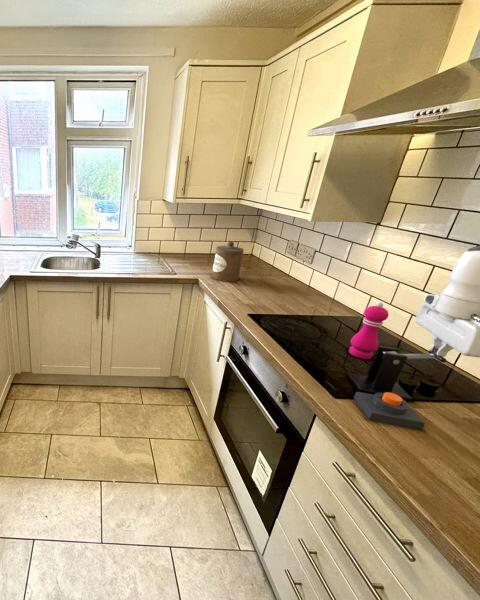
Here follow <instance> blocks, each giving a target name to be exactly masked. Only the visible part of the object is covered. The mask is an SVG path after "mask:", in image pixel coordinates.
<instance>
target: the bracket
mask: <svg viewBox="0 0 480 600" xmlns="http://www.w3.org/2000/svg"><path fill="white" fill-rule="evenodd" d="M375 351H376V352H375V354H374V356H373V359H372V361H371V363H370V365H369V368H368V370H367V373H366V374H359V373H352V372H346V377H347V379H348V380H349V381H350V383H351V384H352V385H353V387H354V388H355V389H356V390H357V391H356V392H361V393H367V394H373V395H375V394H376V393H385V392H390V393H393V394H396V395H398V396H400V397H401V398H402V400H405V401H406V402H407V403H411V401H412V400H413V398H412V397H411V396H410V395H409V394H408V393H407V391H405V389H404V388H402V386H401V385H400V384H399V383H398V382H397V381H398V378H399V376H400V374H401V372H402V370H403V368H404V366H405V364H406V361H407V360H408V359H407V356H406V355H399V354H400V353H399V351H400V349H399V348H398V347H391V346H384V345H378V348H377V350H375ZM383 351H395V352H397V353H398V354H392V353H386V354H385V357H384V359H382V352H383Z"/></svg>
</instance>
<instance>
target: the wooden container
mask: <svg viewBox="0 0 480 600" xmlns="http://www.w3.org/2000/svg"><path fill="white" fill-rule="evenodd" d="M234 245H235V242H233V241H228V242H227V245H219V246H216V249H215V255H214V261H213V265H212V272H211V277H212V278H213V279H215V280H217V281H220V282H221V281H222V282H236V281H238V280H239V277H240V272H241V267H242V262H243V256H244V248H242V247H239V246H234Z"/></svg>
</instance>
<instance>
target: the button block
mask: <svg viewBox="0 0 480 600" xmlns="http://www.w3.org/2000/svg"><path fill="white" fill-rule="evenodd" d="M383 395H384V393H376V394H375V395H373V394H367V393H361V392H358V391H356V392H355V393H354V396H353V399H354V401H355V402H356V403H357V405H358V406H359V407H360V410H362V412H363V413H364V414H365V416H366V418H367V419H368V420H370V421H376V422H380V423H387V424H391V425H397V426H401V427H406V428H410V429H411V428H412V429H417V430H423V429H424V427H425V425H426V421H425V420H424V419H423V418H422V417H421V416H420V415H419V414H418V413H417V412H416V410H414V408H412V406H411V405H410V404H409V402H408V401H405V400H402V402H401V404H400V406H393V405H390V404H388V403H386V402H384V401H383V400H382V397H383Z"/></svg>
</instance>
